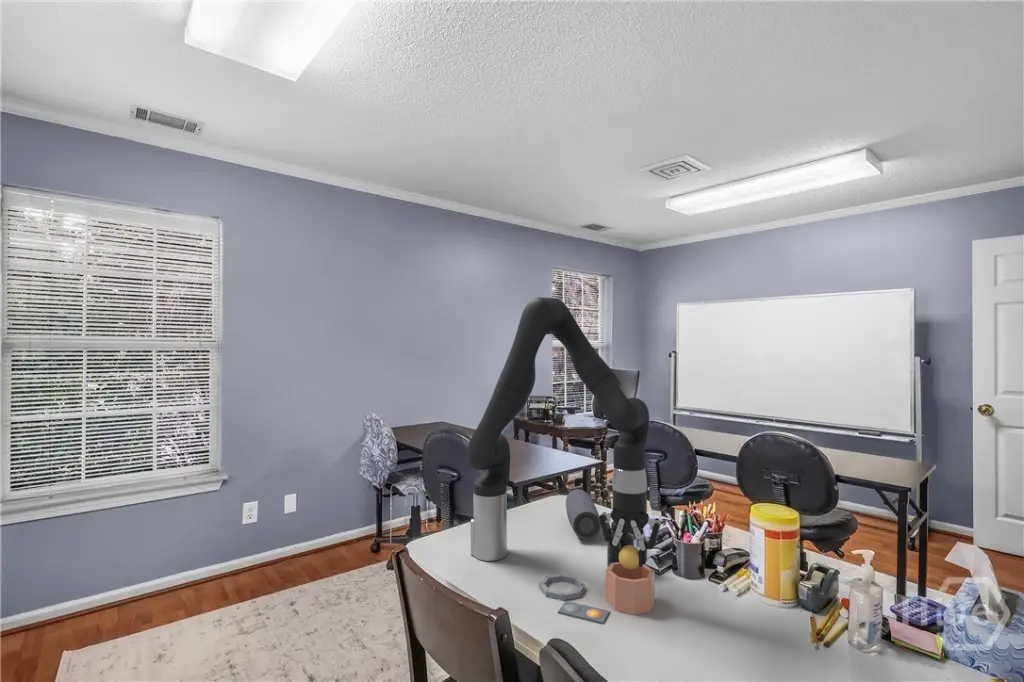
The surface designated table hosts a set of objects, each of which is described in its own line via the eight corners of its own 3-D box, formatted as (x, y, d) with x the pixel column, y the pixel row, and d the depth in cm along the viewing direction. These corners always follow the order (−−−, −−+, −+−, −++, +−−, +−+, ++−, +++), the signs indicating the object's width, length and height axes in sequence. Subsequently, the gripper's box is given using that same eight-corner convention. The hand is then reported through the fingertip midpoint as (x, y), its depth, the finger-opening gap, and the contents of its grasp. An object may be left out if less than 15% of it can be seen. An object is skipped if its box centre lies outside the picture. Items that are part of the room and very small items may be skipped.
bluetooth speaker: (603, 544, 147) (603, 509, 147) (571, 544, 147) (571, 509, 147) (592, 517, 170) (591, 487, 170) (564, 517, 170) (564, 487, 170)
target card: (557, 613, 109) (557, 610, 109) (565, 602, 114) (565, 600, 114) (602, 624, 105) (602, 621, 105) (609, 612, 109) (609, 610, 109)
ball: (616, 570, 113) (615, 548, 113) (621, 562, 117) (621, 540, 117) (638, 575, 110) (638, 552, 110) (643, 566, 115) (643, 544, 115)
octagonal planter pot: (602, 607, 112) (602, 575, 112) (614, 587, 120) (614, 558, 121) (648, 618, 107) (648, 585, 107) (657, 596, 116) (657, 566, 116)
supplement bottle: (635, 577, 126) (634, 529, 126) (607, 575, 127) (606, 527, 127) (633, 565, 133) (633, 519, 133) (607, 563, 134) (607, 518, 134)
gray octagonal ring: (534, 593, 118) (534, 588, 118) (550, 576, 127) (550, 571, 127) (575, 603, 113) (575, 598, 113) (588, 584, 122) (588, 579, 122)
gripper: (593, 487, 114) (594, 563, 114) (658, 495, 107) (659, 576, 107) (603, 479, 121) (603, 551, 120) (665, 486, 114) (665, 562, 114)
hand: (629, 562), depth 114 cm, fingers closed on ball, 4 cm apart
